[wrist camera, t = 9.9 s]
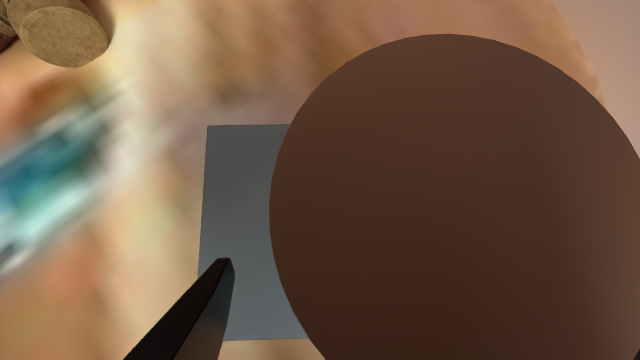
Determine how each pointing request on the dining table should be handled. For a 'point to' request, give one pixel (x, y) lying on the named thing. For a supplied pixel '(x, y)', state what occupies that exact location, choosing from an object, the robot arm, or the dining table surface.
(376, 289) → the peg
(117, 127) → the dining table surface
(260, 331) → the socket board
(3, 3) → the gavel
